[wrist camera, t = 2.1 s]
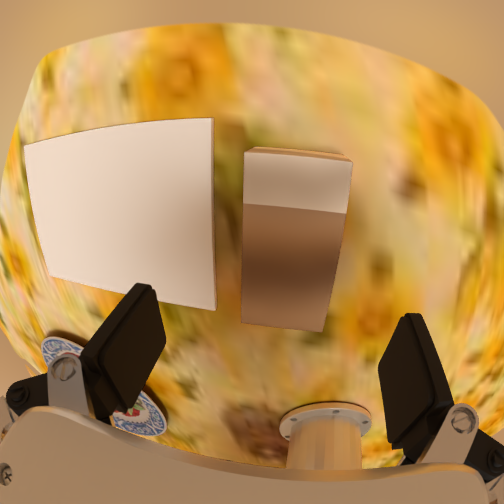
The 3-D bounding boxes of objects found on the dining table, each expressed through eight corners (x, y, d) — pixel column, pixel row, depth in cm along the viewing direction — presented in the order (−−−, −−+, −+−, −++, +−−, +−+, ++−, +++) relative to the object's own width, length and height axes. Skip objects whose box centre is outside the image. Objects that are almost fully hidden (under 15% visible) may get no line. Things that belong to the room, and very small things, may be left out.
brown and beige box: (320, 300, 23) (322, 332, 19) (250, 292, 24) (241, 322, 20) (342, 154, 17) (353, 162, 14) (255, 146, 18) (244, 152, 15)
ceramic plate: (67, 390, 45) (61, 399, 43) (32, 305, 33) (21, 315, 31) (171, 440, 44) (167, 452, 41) (170, 374, 32) (162, 391, 29)
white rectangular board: (217, 306, 25) (215, 310, 24) (52, 273, 28) (49, 275, 27) (213, 118, 18) (211, 117, 17) (27, 144, 21) (24, 145, 20)
